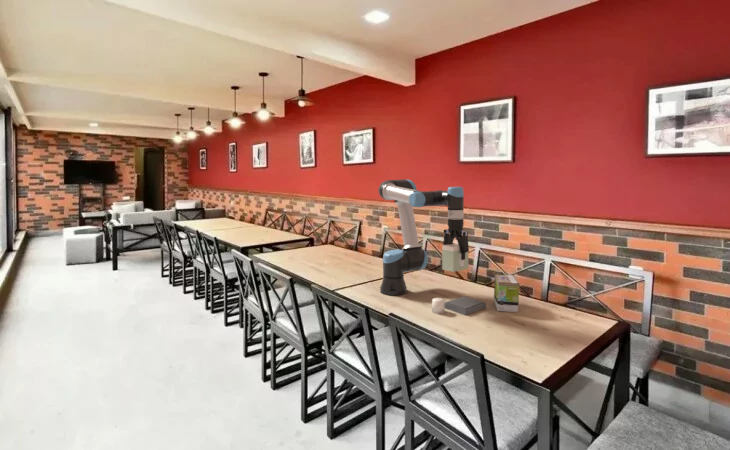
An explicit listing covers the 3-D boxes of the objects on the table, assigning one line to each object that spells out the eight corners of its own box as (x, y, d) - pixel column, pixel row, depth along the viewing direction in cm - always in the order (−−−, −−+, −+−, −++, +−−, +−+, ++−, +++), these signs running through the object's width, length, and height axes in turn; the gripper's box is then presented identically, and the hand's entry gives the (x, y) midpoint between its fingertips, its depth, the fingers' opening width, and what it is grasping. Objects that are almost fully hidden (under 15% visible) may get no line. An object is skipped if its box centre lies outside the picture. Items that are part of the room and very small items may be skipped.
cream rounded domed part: (429, 311, 194) (429, 299, 193) (437, 308, 197) (437, 297, 197) (438, 314, 189) (438, 302, 188) (447, 311, 193) (447, 300, 192)
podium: (444, 307, 198) (444, 302, 198) (464, 301, 208) (464, 295, 207) (465, 315, 188) (465, 309, 188) (485, 307, 198) (485, 301, 197)
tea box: (518, 312, 191) (520, 282, 189) (496, 311, 193) (498, 281, 191) (513, 302, 205) (514, 274, 203) (493, 301, 207) (494, 273, 205)
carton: (442, 269, 195) (442, 245, 194) (457, 266, 202) (457, 242, 200) (453, 271, 190) (453, 247, 188) (468, 268, 196) (468, 244, 195)
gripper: (435, 217, 199) (435, 262, 201) (466, 220, 183) (466, 269, 185) (445, 216, 203) (445, 260, 206) (477, 219, 187) (476, 266, 190)
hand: (455, 264), depth 195 cm, fingers closed on carton, 7 cm apart
